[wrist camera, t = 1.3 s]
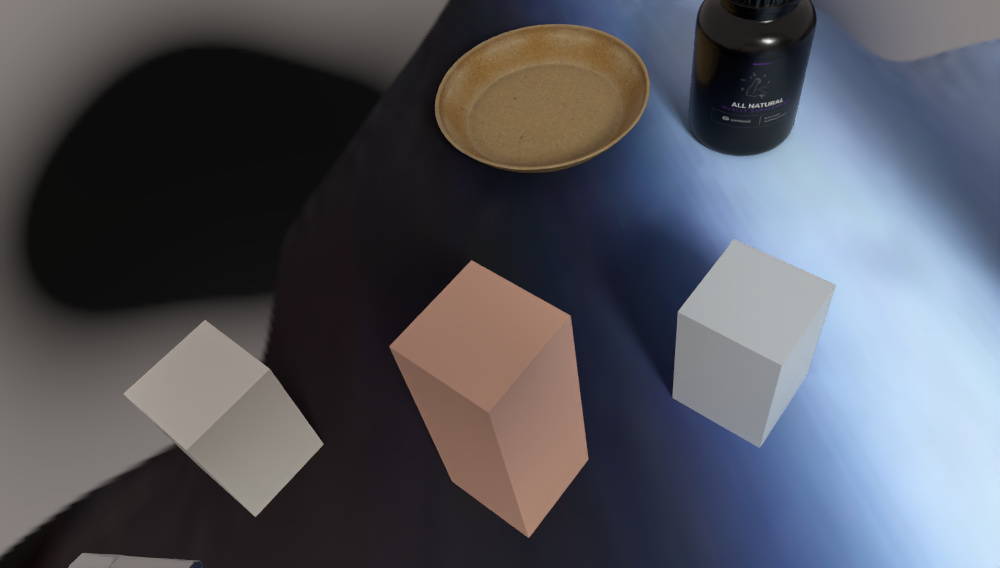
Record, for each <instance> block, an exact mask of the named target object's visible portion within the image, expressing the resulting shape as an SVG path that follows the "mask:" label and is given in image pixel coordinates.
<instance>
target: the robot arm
mask: <svg viewBox="0 0 1000 568" xmlns="http://www.w3.org/2000/svg"><path fill="white" fill-rule="evenodd" d="M68 568H204V566H203V564H202V561H193V560H178V559H163V558H148V557H133V556H124V555H108V554H89V553H82V554H81V555H80V556H79V557H78V558H77V559H76V560H75V561H74V562H73V563H72V564H71V565H70V566H69V567H68Z"/></svg>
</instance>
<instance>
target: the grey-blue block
mask: <svg viewBox="0 0 1000 568" xmlns="http://www.w3.org/2000/svg"><path fill="white" fill-rule="evenodd" d="M835 287H836V285H835V284H833V283H830V282H828V281H826V280H824V279H822V278H819V277H817V276H815V275H813V274H810V273H808V272H806V271H804V270H802V269H799V268H797V267H795V266H793V265H791V264H788V263H786V262H784V261H782V260H779V259H777V258H775V257H773V256H771V255H768V254H766V253H764V252H762V251H760V250H757V249H755V248H753V247H751V246H748V245H746V244H744V243H742V242H740V241H737V240H735V239H734V240H733V241H732V242H731V244H730V245H729V246H728V247H727V249H726V250H725V251H724V253H723V254H722V255H721V256H720V258H719V259H718V260H717V262H716V263H715V264H714V266H713V267H712V268H711V269H710V271H709V272H708V273H707V275H706V276H705V277H704V279H703V280H702V281H701V282H700V284H699V285H698V286H697V288H696V289H695V290H694V291H693V293H692V294H691V295H690V297H689V298H688V299H687V301H686V302H685V303H684V304H683V306H682V307H681V308H680V310H679V311H678V316H677V332H676V348H675V364H674V380H673V396H672V398H674V399H675V400H677V401H679V402H681V403H682V404H684V405H686V406H688V407H689V408H691V409H693V410H694V411H696V412H698V413H700V414H701V415H703V416H705V417H707V418H708V419H710V420H712V421H714V422H715V423H717V424H719V425H721V426H722V427H724V428H726V429H727V430H729V431H731V432H733V433H734V434H736V435H738V436H740V437H741V438H743V439H745V440H747V441H748V442H750V443H752V444H754V445H755V446H757V447H759V448H760V447H761V445H762V444H763V442H764V441H765V439H766V438H767V436H768V435H769V433H770V432H771V430H772V428H773V427H774V425H775V424H776V422H777V421H778V419H779V418H780V416H781V415H782V413H783V412H784V410H785V408H786V407H787V405H788V404H789V402H790V401H791V399H792V398H793V396H794V395H795V393H796V392H797V390H798V388H799V387H800V385H801V384H802V382H803V381H804V379H805V378H806V376H807V373H808V370H809V367H810V364H811V361H812V358H813V355H814V352H815V349H816V346H817V342H818V339H819V336H820V333H821V330H822V327H823V324H824V321H825V318H826V315H827V312H828V308H829V305H830V302H831V299H832V296H833V293H834V290H835Z"/></svg>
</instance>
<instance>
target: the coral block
mask: <svg viewBox="0 0 1000 568" xmlns="http://www.w3.org/2000/svg"><path fill="white" fill-rule="evenodd" d="M389 347H390V349H391V351H392V354H393V356H394V358H395V360H396V362H397V364H398V366H399V369H400V371H401V373H402V375H403V377H404V379H405V381H406V384H407V386H408V388H409V390H410V392H411V394H412V396H413V399H414V401H415V403H416V405H417V407H418V409H419V411H420V414H421V416H422V418H423V420H424V422H425V424H426V426H427V429H428V431H429V433H430V435H431V437H432V439H433V442H434V444H435V446H436V448H437V450H438V452H439V454H440V457H441V459H442V461H443V463H444V465H445V467H446V469H447V472H448V474H449V476H450V478H451V480H452V482H454V483H455V484H456V485H458V486H459V487H460V488H462V489H463V490H464V491H466V492H467V493H468V494H470V495H471V496H473V497H474V498H475V499H477V500H478V501H479V502H481V503H482V504H483V505H485V506H486V507H487V508H489V509H490V510H492V511H493V512H494V513H496V514H497V515H498V516H500V517H501V518H502V519H504V520H505V521H506V522H508V523H509V524H510V525H512V526H513V527H515V528H516V529H517V530H519V531H520V532H521V533H523V534H524V535H525V536H527V537H528V538H529V537H530V536H531V535H532V533H533V532H534V531H535V529H536V528H537V527H538V525H539V524H540V523H541V521H542V520H543V519H544V517H545V516H546V515H547V513H548V512H549V511H550V509H551V508H552V507H553V506H554V504H555V503H556V502H557V500H558V499H559V498H560V496H561V495H562V494H563V492H564V491H565V490H566V488H567V487H568V486H569V484H570V483H571V482H572V480H573V479H574V478H575V476H576V475H577V474H578V472H579V471H580V470H581V468H582V467H583V466H584V465H585V463H586V462H587V461H588V453H587V445H586V436H585V428H584V420H583V412H582V404H581V396H580V388H579V380H578V372H577V364H576V356H575V348H574V339H573V331H572V323H571V316H570V315H568V314H567V313H565V312H563V311H561V310H559V309H558V308H556V307H554V306H552V305H551V304H549V303H547V302H545V301H543V300H542V299H540V298H538V297H536V296H534V295H533V294H531V293H529V292H527V291H525V290H524V289H522V288H520V287H518V286H517V285H515V284H513V283H511V282H509V281H508V280H506V279H504V278H502V277H500V276H499V275H497V274H495V273H493V272H491V271H490V270H488V269H486V268H484V267H483V266H481V265H479V264H477V263H475V262H474V261H472V260H471V261H470V262H469V263H468V265H467V266H466V267H465V268H464V269H463V270H462V271H461V272H460V273H459V274H458V275H457V276H456V277H455V278H454V279H453V280H452V281H451V282H450V283H449V284H448V285H447V287H446V288H445V289H444V290H443V291H442V292H441V293H440V294H439V295H438V296H437V297H436V298H435V299H434V300H433V301H432V302H431V303H430V304H429V305H428V306H427V307H426V308H425V310H424V311H423V312H422V313H421V314H420V315H419V316H418V317H417V318H416V319H415V320H414V321H413V322H412V323H411V324H410V325H409V326H408V327H407V328H406V329H405V330H404V332H403V333H402V334H401V335H400V336H399V337H398V338H397V339H396V340H395V341H394V342H393V343H392V344H391V345H390V346H389Z"/></svg>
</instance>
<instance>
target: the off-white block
mask: <svg viewBox="0 0 1000 568" xmlns="http://www.w3.org/2000/svg"><path fill="white" fill-rule="evenodd" d="M124 395H125V396H126V397H127V398H128V399H129V400H130V401H131V402H132V403H133V404H134V405H136V407H137V408H139V409H140V410H141V411H142V412H143V413H144V414H145V415H146V416H147V417H148V418H149V419H150V420H151V421H153V423H154V424H155V425H157V427H158V428H160V429H161V430H162V431H163V432H164V433H165V434H166V435H167V436H168V437H169V438H170V439H171V440H172V441H173V442H174V443H175V444H176V445H177V446H178V447H179V448H181V449H182V450H183V451H184V452H185V453H186V454H187V455H188V456H189V457H190V458H191V459H192V460H193V461H194V462H195V463H196V464H197V465H198V466H199V467H201V468H202V469H203V470H204V471H205V472H206V473H207V474H208V475H209V476H211V477H212V478H213V479H214V480H215V481H216V482H217V483H218V484H219V485H221V486H222V487H223V488H224V489H225V490H226V491H227V492H228V493H229V494H230V495H232V496H233V497H234V498H235V499H236V500H237V501H238V502H239V503H240V504H242V505H243V506H244V507H245V508H246V509H247V510H248V511H249V512H250V513H251V514H253V515H254V516H255V517H256V516H257V515H258V514H259V513H260V512H261V511H262V510H263V509H264V507H265V506H266V505H267V504H268V503H269V502H270V501H271V500H272V499H273V498H274V497H275V496H276V495H277V494H278V493H279V491H280V490H281V489H282V488H283V487H284V486H285V485H286V484H287V483H288V482H289V481H290V480H291V479H292V478H293V477H294V475H295V474H296V473H297V472H298V471H299V470H300V469H301V468H302V467H303V466H304V465H305V464H306V463H307V462H308V461H309V459H310V458H311V457H312V456H313V455H314V454H315V453H316V452H317V451H318V450H319V449H320V448H321V447H322V446H323V445H324V444H323V442H322V441H321V440H320V438H319V437H318V435H317V434H316V433H315V431H314V430H313V428H312V427H311V426H310V424H309V423H308V421H307V420H306V419H305V417H304V416H303V415H302V413H301V412H300V410H299V409H298V408H297V406H296V405H295V403H294V402H293V401H292V399H291V398H290V396H289V395H288V394H287V392H286V391H285V389H284V388H283V387H282V385H281V384H280V382H279V381H278V380H277V378H276V377H275V375H274V374H273V373H272V371H271V370H270V369H269V368H268V367H267V366H265V365H264V364H263V363H261V362H260V361H259V360H257V359H256V358H255V357H253V356H252V355H251V354H249V353H248V352H247V351H245V350H244V349H243V348H242V347H240V346H239V345H238V344H236V343H235V342H234V341H232V340H231V339H230V338H228V337H227V336H226V335H224V334H223V333H222V332H220V331H219V330H218V329H216V328H215V327H214V326H212V325H211V324H210V323H209V322H207V321H206V320H204V321H203V322H202V323H201V324H200V325H199V326H198V327H197V328H196V329H194V330H193V331H192V332H191V333H190V334H189V335H188V336H187V337H186V338H185V339H184V340H182V341H181V342H180V343H179V344H178V345H177V346H176V347H175V348H173V349H172V350H171V351H170V352H169V353H168V354H167V355H166V356H165V357H163V358H162V359H161V360H160V361H159V362H158V363H157V364H156V365H155V366H153V367H152V368H151V369H150V370H149V371H148V372H147V373H146V374H145V375H144V376H143V377H142V378H140V379H139V380H138V381H137V382H136V383H135V384H134V385H133V386H131V387H130V388H129V389H128V390H127V391H126V392H125V393H124Z"/></svg>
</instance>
